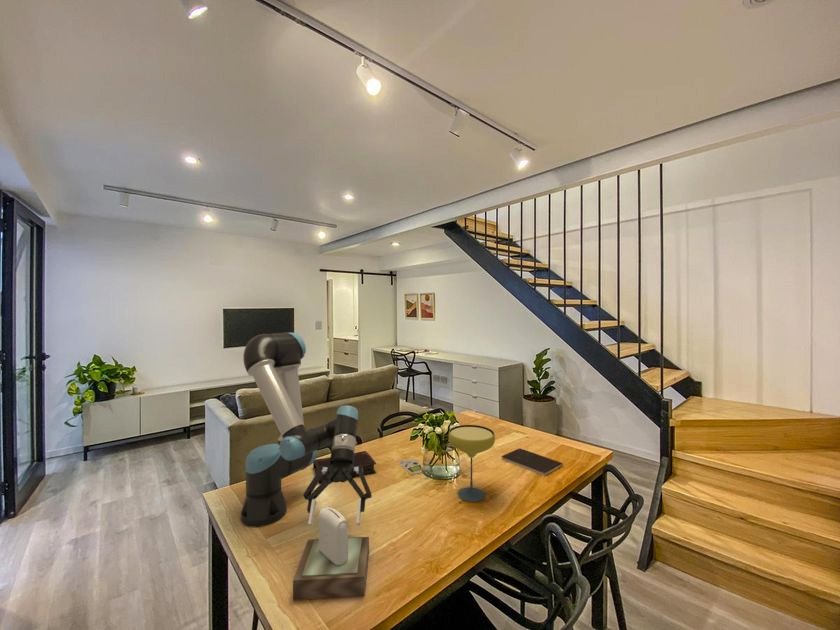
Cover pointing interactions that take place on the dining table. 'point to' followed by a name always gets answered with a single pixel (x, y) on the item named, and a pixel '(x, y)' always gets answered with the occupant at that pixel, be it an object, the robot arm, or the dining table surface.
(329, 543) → the photo printer
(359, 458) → the diary
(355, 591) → the block
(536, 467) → the hardcover book
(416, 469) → the handheld gaming device
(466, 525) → the dining table surface
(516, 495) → the dining table surface
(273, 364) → the robot arm
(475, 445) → the cocktail glass
